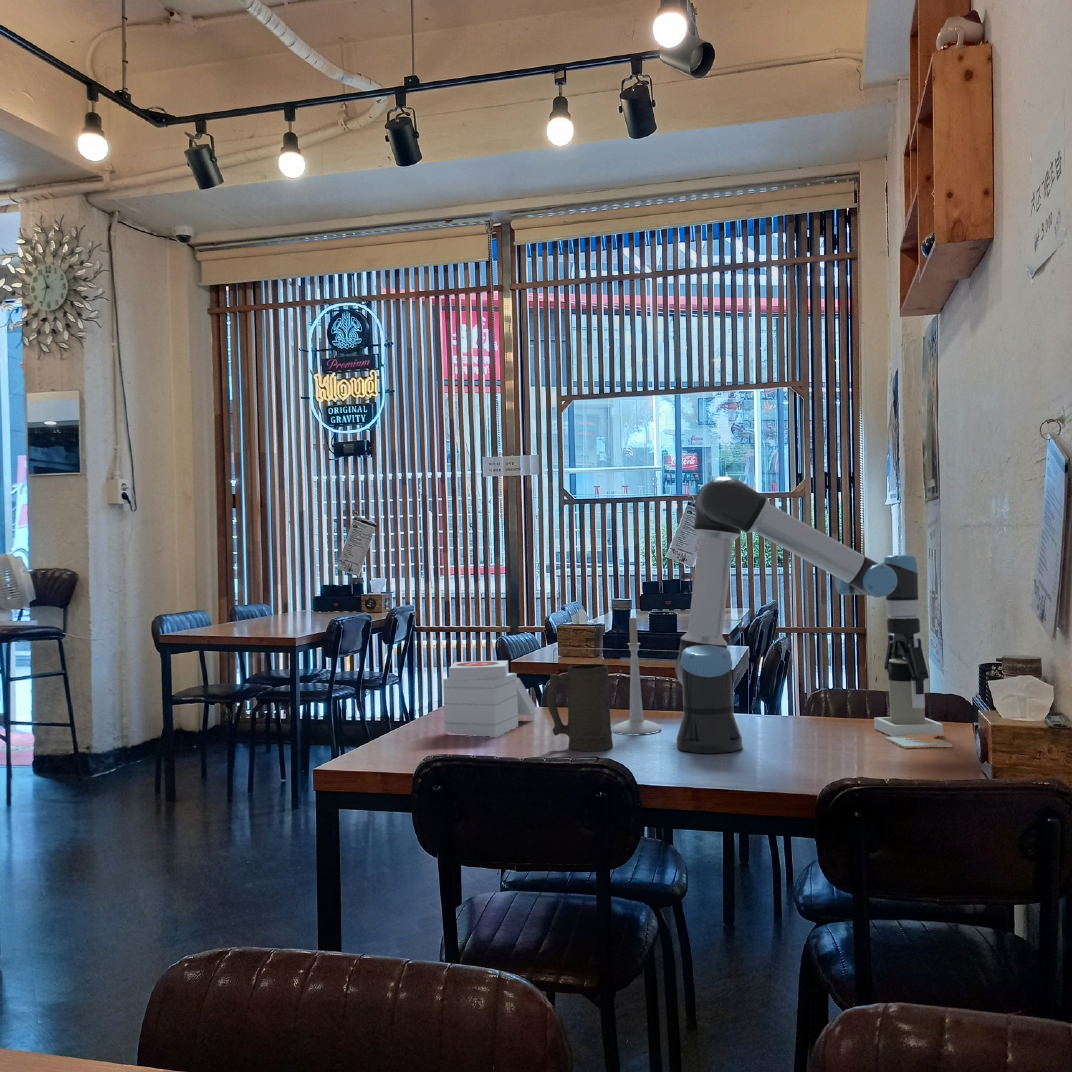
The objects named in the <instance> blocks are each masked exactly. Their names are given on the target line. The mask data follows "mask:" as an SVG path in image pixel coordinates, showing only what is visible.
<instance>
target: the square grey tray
mask: <svg viewBox="0 0 1072 1072" xmlns="http://www.w3.org/2000/svg"><path fill="white" fill-rule="evenodd" d="M873 722H874V724H873V725H874V730H875V729H878V730H880V731H883V732H884V733H886V734H889V735H891V736H907V735H917V734H943V735H944V724H943V723H941V722H937V721H935V720H933V719H930V718H927V717H925V724H912V725H894V724H892V723H890V716H885V717H881V716H880V717H878V716H877V717H874V718H873Z"/></svg>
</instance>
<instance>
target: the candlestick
mask: <svg viewBox="0 0 1072 1072" xmlns="http://www.w3.org/2000/svg"><path fill="white" fill-rule="evenodd" d="M628 620H629V621H628V622H629V642H628V643H626V644H627V645H628V647H629V648H628V650H629V651H630V671H629V673H630V674H629V676H630V677H629V678H630V679H629V680H630V681H629V715H628V720H624V721H621V722H619V723H617V724H615V725H614V726H613V727H611V731H612V730H613V731H615V732H617V733H622V734H646V733H652V732H656V731H660V730H661V731H662V727H661V726H660V724H658V723H655V722H653V721H650V720H647V719H645V718H644V712H643V701H642V690H641V675H640V666H639V664H640V663H639V657H638V651H640V648H639V647H640V645H641V643H640V642H638V619H637V617H629V619H628ZM613 731H612V732H613ZM617 733H616V734H617ZM622 734H621V735H622Z"/></svg>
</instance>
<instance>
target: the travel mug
mask: <svg viewBox="0 0 1072 1072" xmlns="http://www.w3.org/2000/svg"><path fill="white" fill-rule="evenodd" d="M889 662H890V665H891V669H890V671H889V673H888V672H887V675H888V700H889V717H890V723H892V724H894V725H912V724H925V718H926V715H925V713H926V711H925V708H926V707H925V708H912V685H911V678H912V675H911V672H910V669H909V666H908V664H907V661H906V658H904V657H903V658H897V659H890V660H889Z"/></svg>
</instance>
